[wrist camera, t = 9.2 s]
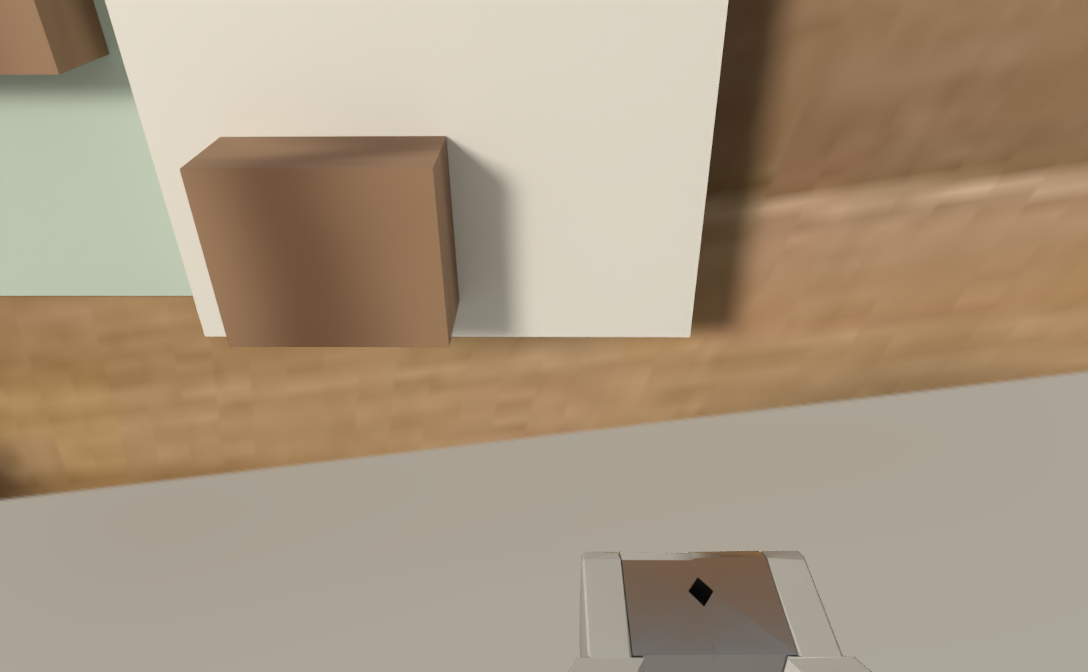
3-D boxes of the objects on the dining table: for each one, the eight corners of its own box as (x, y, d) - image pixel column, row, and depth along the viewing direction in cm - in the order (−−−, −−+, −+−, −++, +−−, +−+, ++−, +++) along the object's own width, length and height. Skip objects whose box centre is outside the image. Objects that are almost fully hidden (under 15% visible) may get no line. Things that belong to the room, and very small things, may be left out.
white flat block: (727, -223, 18) (756, -238, 15) (676, 289, 25) (690, 336, 23) (109, -216, 18) (36, -230, 15) (240, 289, 25) (205, 336, 23)
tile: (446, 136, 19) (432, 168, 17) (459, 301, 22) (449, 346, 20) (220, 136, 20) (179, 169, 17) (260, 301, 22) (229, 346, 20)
